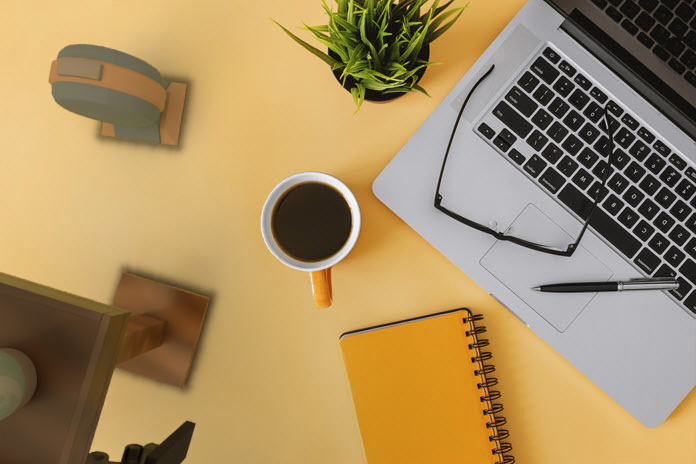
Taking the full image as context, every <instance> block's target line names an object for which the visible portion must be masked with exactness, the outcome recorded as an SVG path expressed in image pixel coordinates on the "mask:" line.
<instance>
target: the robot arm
mask: <svg viewBox="0 0 696 464" xmlns="http://www.w3.org/2000/svg"><path fill="white" fill-rule="evenodd" d="M196 425H197V423H196V422H194V421H191V420H185V421H184V422H183V423H181V425H180V426H178V427H177V428H176V429H175V430H174V431H173V432H172V433H170V434H169V435H168V436H167V437H166V438H164V440H163V441H161V442H160V443H159V444H158V443H155V442H149V443H145V444H144V445H143V444H139V443H129V444H126V445H125V446H124V449H123V453H122V456H121V459H120V461H114V460H110V455H109V454H108V453H107V452H104V451H100V450H94V451H90V452H89V454H88V456H87V459H86V462H85V464H182V463H183V462H184V461H185V459H186V458H187V455H188V452H189V449H190V445H191V442H192V439H193V435H194V431H195V428H196Z"/></svg>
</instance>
